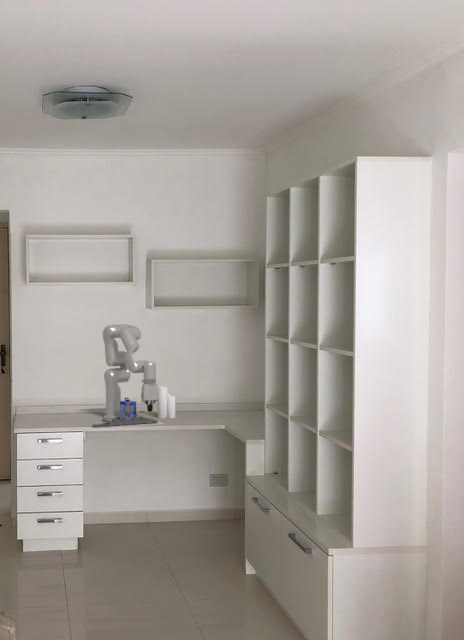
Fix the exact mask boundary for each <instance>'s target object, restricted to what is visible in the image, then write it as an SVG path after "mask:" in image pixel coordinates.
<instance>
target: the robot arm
mask: <svg viewBox="0 0 464 640" xmlns="http://www.w3.org/2000/svg"><path fill="white" fill-rule="evenodd" d="M117 338H118V339H120V340H121V342H122V344H123V346H124V348H125V350H126V351H125V350H119V343H118V341H117V340H116V339H117ZM141 338H142V331H141V329H140V328H139V327H137V326H134V325H131V324H126V323H125V324H123V323H122V324H111V325H106V326H105V327H104V329H103V330H102V340H103V343H104V354H105V355H104V356H105V364H106V365H107V367H108V366H109V367H113V368H108V369H106V370H105V372H104V375H103V377H104V378H103V379H104V383H105V384H104V385H105V414H104V415H103V419H112V418H113V419H120V401H122V393H121V391H122V390H121V387H120V386H119V384H120V383H127V382H129V381H130V379H131V373H132V374H143V379H142V380H141V383H143V384H142V387H141V394H140V395H141V402H142V403H145V404H146V409H147V412H149V413H151V412H153V410H154V409H153V408H154V407H153V406H154V404H155V403H158V399H159V391H158V387H159V385H158V383H157V375H156V374H157V363H156V361H150V360H147V359H146V360H135V358H134V357H133V354H135V353H136V352H137V351H138V350H139V349H140V343H138V341H139V340H140V339H141Z"/></svg>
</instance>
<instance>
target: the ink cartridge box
mask: <svg viewBox="0 0 464 640" xmlns="http://www.w3.org/2000/svg"><path fill="white" fill-rule="evenodd" d="M131 417H133V418H137V401H136V400H135V401H134V400H130V398H129V397H124V400H121V401H120V418H119V420H121V419H122V418H125V419H130V420H131ZM137 419H138V418H137Z"/></svg>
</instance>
